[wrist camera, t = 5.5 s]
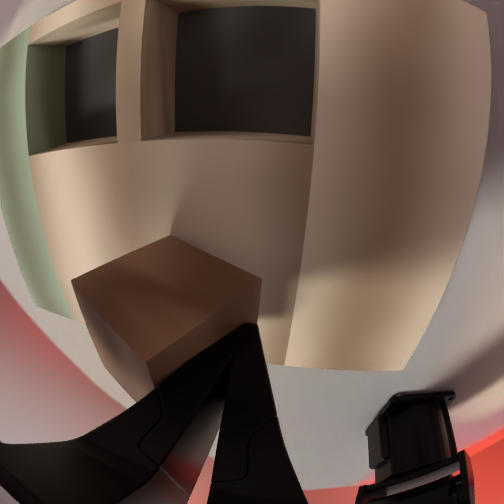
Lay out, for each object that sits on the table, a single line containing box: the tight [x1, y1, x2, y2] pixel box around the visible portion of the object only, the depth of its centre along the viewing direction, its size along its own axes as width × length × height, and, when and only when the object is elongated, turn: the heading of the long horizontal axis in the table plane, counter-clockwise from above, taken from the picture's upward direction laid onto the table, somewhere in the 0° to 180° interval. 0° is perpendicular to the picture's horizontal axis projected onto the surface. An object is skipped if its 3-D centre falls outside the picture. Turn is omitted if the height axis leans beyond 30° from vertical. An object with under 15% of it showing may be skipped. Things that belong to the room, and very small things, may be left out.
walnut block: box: [71, 235, 262, 402], centre depth 8 cm, size 4×4×4 cm
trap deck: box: [0, 0, 491, 371], centre depth 10 cm, size 22×16×3 cm
